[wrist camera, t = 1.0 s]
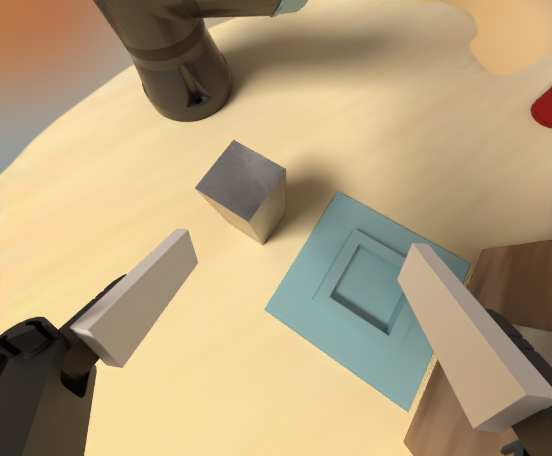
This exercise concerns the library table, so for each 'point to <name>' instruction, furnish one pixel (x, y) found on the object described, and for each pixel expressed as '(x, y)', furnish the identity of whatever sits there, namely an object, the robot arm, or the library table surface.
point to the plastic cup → (543, 109)
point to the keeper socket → (360, 298)
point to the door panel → (521, 314)
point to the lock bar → (246, 190)
